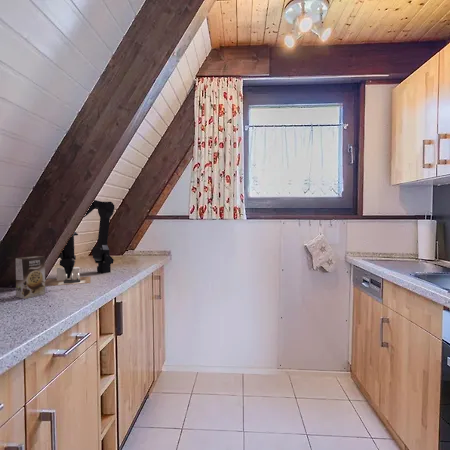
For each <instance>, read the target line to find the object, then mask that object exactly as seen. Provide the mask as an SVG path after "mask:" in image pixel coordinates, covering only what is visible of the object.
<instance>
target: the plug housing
mask: <svg viewBox="0 0 450 450" xmlns="http://www.w3.org/2000/svg"><path fill="white" fill-rule="evenodd" d="M80 272H81V270H80V266H74V267H73V270H72V273H71V274H73V280H76V279H77V273H79V279H80V277H81V274H80ZM65 274H66V273H65V269H64V267H57V268H56V279H57V281H64V280H65ZM67 280H71V275H70V278H67Z"/></svg>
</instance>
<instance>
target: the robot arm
mask: <svg viewBox="0 0 450 450" xmlns="http://www.w3.org/2000/svg"><path fill="white" fill-rule="evenodd" d="M93 200H94V202H93V203H92V205H91V206H90V208H89V210H88V211H87V213H86V215H85V216H84V218H86V217H87V216H88V215H89V214H90V213H92V212H93V211H94V210H97V214H98V216H99V227H98V236H97V244H96V246H95V247H94V246H93V247H92V253H91V255H92V258H93V260H94V263H95V264H97V266H96V273H97V274H108V273H110V274H111V273H112V272H111V267H112V266H111V265H113V263H114V261H115V260H114V258H113V257H112V256H111V255H110V249H109V247H108V242H109V241H108V240H109V239H108V238H109V229H110V221H111V217H112V216H113V215H114V212H115V204H114V203H113V202H112V201H101V200H100V201H99V200H96V199H93ZM78 235H79V233H77V232H76V231H75V232H74V234H73V235H72V237H71V238H70V240H69V241H68V243H67V245H66V246H65V248H64V250H63V251H62V253H61V254H60V255H59V257H58V259H60V261H59V266H61V268H64V269H65V273H66V274H67V278H70V275H71V273H72V270H73V267H75V263H76V260H77V257H76V255H75V236H78Z"/></svg>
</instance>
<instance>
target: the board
mask: <svg viewBox="0 0 450 450" xmlns="http://www.w3.org/2000/svg"><path fill="white" fill-rule="evenodd" d="M91 282H92V281H91V276H80V282H77V283H64V281H57V278H47V279H46V278H45V287H52V286H53V287H55V286H68V285H82V284H83V285H84V284H91Z"/></svg>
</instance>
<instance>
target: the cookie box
mask: <svg viewBox="0 0 450 450" xmlns="http://www.w3.org/2000/svg"><path fill="white" fill-rule="evenodd" d="M45 257H46V256H42V255H33V256H22V257H16V258H15V297H16V298H20V299H22V300H23V299H24V300H25V299H30V298H35V297H41V296H44V295H46V286H45V281H46V264H45V263H46V261H45V260H46V258H45Z"/></svg>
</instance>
